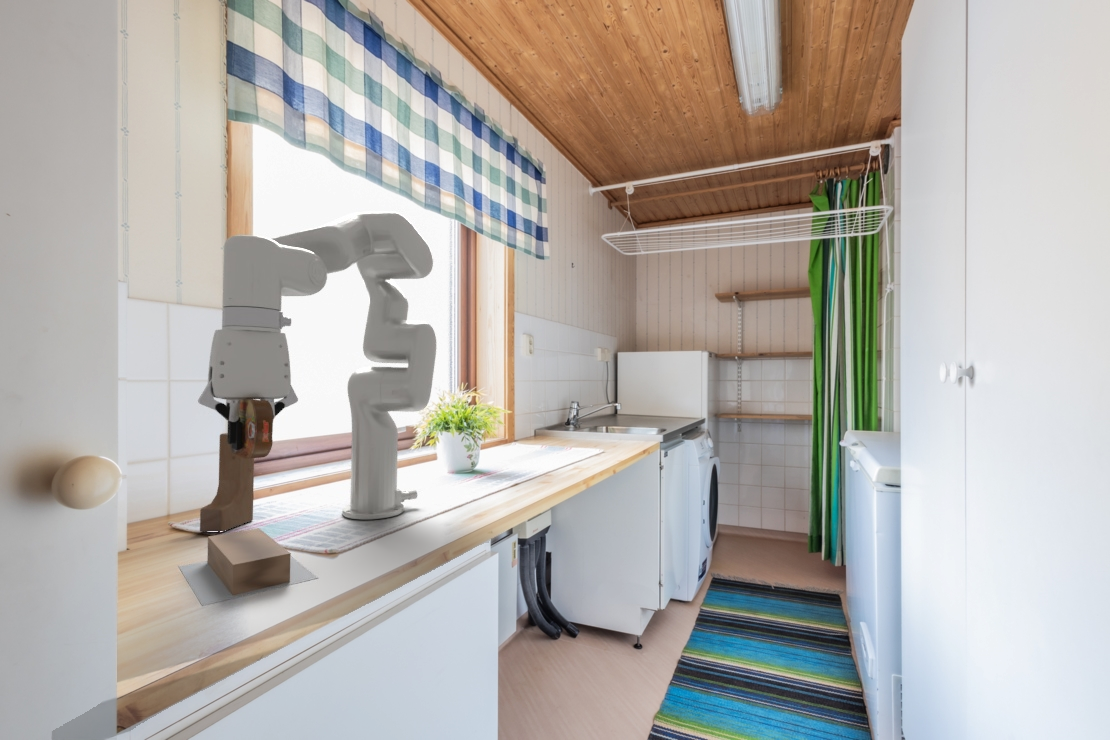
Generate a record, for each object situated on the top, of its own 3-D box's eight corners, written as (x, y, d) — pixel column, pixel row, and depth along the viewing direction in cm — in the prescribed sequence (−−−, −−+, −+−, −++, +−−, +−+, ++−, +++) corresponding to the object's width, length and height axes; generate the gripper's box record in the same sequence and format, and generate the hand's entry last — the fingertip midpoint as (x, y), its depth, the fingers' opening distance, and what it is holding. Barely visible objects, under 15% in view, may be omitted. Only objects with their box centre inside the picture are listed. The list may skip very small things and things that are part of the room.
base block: (258, 553, 86) (258, 528, 86) (289, 582, 74) (290, 553, 74) (207, 562, 81) (208, 536, 81) (232, 595, 70) (233, 564, 70)
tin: (227, 451, 83) (225, 397, 83) (249, 448, 85) (248, 395, 85) (252, 463, 72) (251, 400, 72) (278, 460, 74) (276, 399, 74)
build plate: (279, 553, 89) (279, 547, 89) (318, 585, 76) (318, 577, 76) (178, 573, 80) (178, 566, 80) (202, 613, 67) (202, 605, 67)
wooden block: (220, 533, 99) (223, 436, 100) (198, 532, 100) (200, 436, 100) (253, 520, 108) (255, 432, 108) (233, 519, 109) (235, 431, 109)
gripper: (301, 327, 87) (299, 441, 86) (181, 319, 76) (178, 449, 75) (318, 325, 81) (315, 446, 81) (190, 315, 70) (187, 456, 70)
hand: (249, 446), depth 78 cm, fingers closed on tin, 2 cm apart
